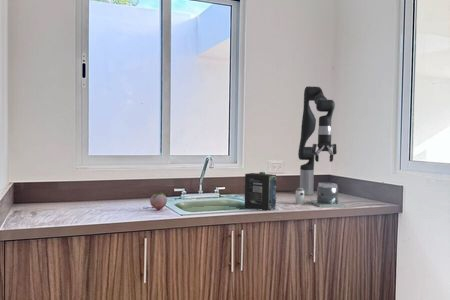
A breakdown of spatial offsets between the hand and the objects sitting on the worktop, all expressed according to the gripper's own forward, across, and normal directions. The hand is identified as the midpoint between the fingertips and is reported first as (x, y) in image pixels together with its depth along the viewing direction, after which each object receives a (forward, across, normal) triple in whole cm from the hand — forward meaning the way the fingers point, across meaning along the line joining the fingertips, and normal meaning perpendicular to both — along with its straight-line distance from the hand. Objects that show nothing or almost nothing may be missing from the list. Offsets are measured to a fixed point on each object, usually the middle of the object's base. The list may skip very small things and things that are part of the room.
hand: (324, 161), depth 223 cm
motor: (+26, -4, -2) cm, 26 cm away
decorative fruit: (+26, +96, +6) cm, 99 cm away
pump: (+26, +12, -5) cm, 29 cm away
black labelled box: (+26, +40, +5) cm, 48 cm away
